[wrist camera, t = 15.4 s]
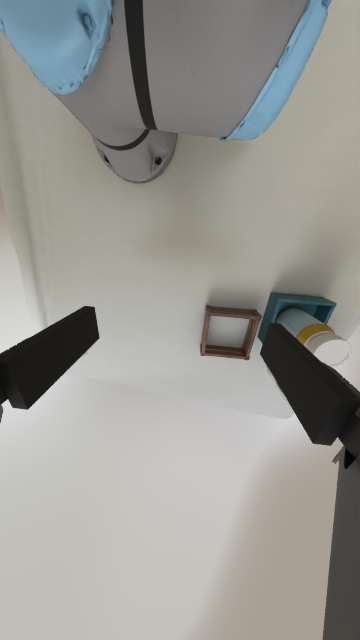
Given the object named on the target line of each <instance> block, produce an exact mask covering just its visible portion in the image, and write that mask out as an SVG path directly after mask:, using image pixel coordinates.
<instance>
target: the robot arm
mask: <svg viewBox="0 0 360 640" xmlns="http://www.w3.org/2000/svg"><path fill="white" fill-rule="evenodd" d="M331 1H332V0H0V30H1V31H2V33H3V35H4V36H5V38H6V39H7V41H8V42H9V43H10V45H11V46H12V47H13V49H14V50H15V51H16V52H17V53H18V55H19V56H20V57H21V58H22V59H23V60H24V62H25V63H26V64H27V65H28V66H29V68H30V69H31V71H32V72H33V74H34V76H35V77H36V78H37V80H38V81H39V82H40V83H41V84H42V85H43V86H44V87H46V88H47V89H48V90H50V91H51V92H52V93H53V94H54V95H55V96H56V97H57V98H58V99H59V100H60V101H61V102H62V103H63V104H64V105H65V107H66V108H67V109H68V110H69V111H70V112H71V113H72V114H73V115H74V116H75V117H76V118H77V119H78V120H79V121H80V122H81V123H82V124H83V125H84V126H85V127H86V128H87V130H88V131H89V132H90V133H91V135H92V137H93V140H94V143H95V145H96V147H97V150H98V152H99V154H100V156H101V157H102V159H103V160H104V162H105V163H106V164H107V165H108V167H109V168H110V169H111V170H112V171H113V172H115V173H116V174H117V175H118V176H119V177H121V178H123V179H124V180H126V181H129V182H132V183H146V182H149V181H152V180H154V179H155V178H157V177H158V176H159V175H160V174H162V172H163V171H164V170H165V169H166V168H167V166H168V164H169V163H170V161H171V159H172V156H173V153H174V150H175V146H176V140H177V133H182V134H190V135H199V136H207V137H216V138H220V140H221V141H227V140H230V139H239V140H251V139H254V138H256V137H258V136H259V135H260V134H261V133H263V132H264V131H266V130H267V128H268V127H269V126H270V125H271V124H272V122H273V121H274V120H275V118H276V117H277V116H278V114H279V113H280V111H281V109H282V108H283V106H284V104H285V103H286V101H287V99H288V98H289V96H290V94H291V92H292V90H293V89H294V87H295V85H296V83H297V81H298V79H299V77H300V75H301V73H302V71H303V69H304V67H305V65H306V63H307V61H308V59H309V57H310V55H311V53H312V51H313V48H314V46H315V44H316V42H317V40H318V37H319V35H320V33H321V30H322V28H323V26H324V23H325V21H326V18H327V15H328V12H327V9H328V6H329V5H330V3H331ZM98 339H99V332H98V326H97V319H96V313H95V307H90V306H84V307H82V308H81V309H79V310H77V311H75V312H74V313H72V314H70V315H68V316H67V317H65V318H63V319H61V320H60V321H58V322H56V323H54V324H53V325H51V326H49V327H47V328H46V329H44V330H42V331H41V332H39V333H37V334H35V335H34V336H32V337H30V338H28V339H25V340H23V341H22V342H20V343H18V344H17V345H15V346H13V347H11V348H10V349H9V350H6V351H4V352H2V353H1V354H0V422H1V418H2V413H3V407H2V406H1V404H2V403H3V402H5V401H6V400H7V399H8V400H9V402H10V404H11V406H12V407H13V408H20V409H27V410H28V409H29V408H30V407H31V406H32V405H33V404H34V403H35V402H36V401H37V400H38V399H39V398H40V397H41V396H42V395H43V394H44V393H45V392H46V391H47V390H48V389H49V388H50V387H51V386H52V385H53V384H54V383H55V382H56V381H57V380H58V379H59V378H60V377H61V376H62V375H63V374H64V373H65V372H66V371H67V370H68V369H69V368H70V367H71V366H72V365H73V364H74V363H75V362H76V361H77V360H78V359H79V358H80V357H81V356H82V355H83V354H84V353H85V352H86V351H87V350H88V349H89V348H90V347H91V346H92V345H93V344H94V343H95V342H96V341H97V340H98ZM260 355H261V356H262V358H263V360H264V362H265V363H266V365H267V367H268V368H269V370H270V372H271V373H272V375H273V377H274V378H275V380H276V382H277V384H278V385H279V387H280V389H281V390H282V392H283V394H284V395H285V397H286V399H287V400H288V402H289V404H290V406H291V407H292V409H293V411H294V412H295V414H296V416H297V417H298V419H299V421H300V422H301V424H302V426H303V428H304V429H305V431H306V432H307V434H308V436H309V438H310V439H311V441H312V443H313V444H321V445H330V446H331V445H332V444H333V442H334V441H335V440H336V438H337V437H338V438H339V439H340V441H341V442H342V443H343V445H344V446H343V447H342V449H341V450H340V451H339V453H338V454H337V455H336V456H335V458H334V459H333V461H332V462H334V463H336V462H337V461H339V471H338V481H337V493H336V503H335V514H334V523H333V534H332V545H331V556H330V566H329V577H328V588H327V598H326V609H325V620H324V631H323V640H360V392H359V391H358V390H357V389H356V388H355V387H354V386H353V385H351V384H349V382H348V381H347V380H346V379H345V378H343V377H342V376H341V375H340V374H339V373H338V372H337V371H336V370H335V369H333V368H332V367H330V366H329V365H327V364H325V363H324V362H321V361H320V360H319V359H318V358H317V357H316V356H315V355H314V354H313V353H311V352H310V351H309V350H308V349H307V348H306V347H305V346H304V345H303V344H302V343H301V342H300V341H299V340H298V339H297V338H295V337H294V336H293V335H292V334H291V333H290V332H289V331H288V330H287V329H286V328H285V327H284V326H283V325H282V324H280V323H270V324H269V327H268V330H267V333H266V336H265V339H264V342H263V346H262V349H261V352H260Z"/></svg>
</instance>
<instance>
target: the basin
mask: <svg viewBox="0 0 360 640" xmlns="http://www.w3.org/2000/svg"><path fill="white" fill-rule="evenodd" d="M336 304H337V303H335V302H332V301H330V300H327V299H325V298H323V297H311V296H299V295H287V294H275V293H271V294H270V297H269V300H268V304H267V307H266V311H265V314H264V317H263V321H262V324H261V327H260V331H259V334H258V338H259V339H260V341H261V342H262V344H263V342H264V339H265V336H266V333H267V330H268V327H269V324H270V323H276V319H277V316H278V315H279V314H280V313H281V312H282V311H284V310H285V309H288V308H299V309H301V310H303V311H305V312H306V313H308V314H309V315H311V316H313V317H314V318H316V319H317V320H319V321H321V322H322V323H324V324H325V325H327V322H328V320H329V318H330V316H331V314H332V312H333V310H334V308H335V306H336Z"/></svg>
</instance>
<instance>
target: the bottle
mask: <svg viewBox="0 0 360 640" xmlns="http://www.w3.org/2000/svg"><path fill="white" fill-rule="evenodd" d="M276 323H280V324H282V325H283V326H284V327H285V328H286V329H287V330H288V331H289V332H290V333H291V334H292V335H293V336H294V337H295V338H297V339H298V340H299V341H300V342H301V343H302V344H303V345H304V346H305V347H306V348H307V349H308V350H309V351H310V352H311V353H313V354H314V355H315V356H316V357H317V358H318V359H319V360H320V361H321V362H324V363H325V364H327V365H329V366H330V367H336V366H339V365H340V364H342V363H344V362H345V361H346V360H347V359H348V358H349V357H350V355H351V353H352V348H351V345H350V344H349V343H348V342H347V341H346V340H344V339H343V338H341V337H340V336H338V335H336V334H335V333H334V331H333V330H332V329H331V328H330V327H328V326H327V325H325V324H324V323H322V322H321V321H319V320H317V319H316V318H314V317H313V316H311V315H309V314H308V313H306V312H305V311H303V310H301V309H299V308H288V309H285V310H284V311H282V312H281V313H280V314H279V315H278V316H277V319H276Z"/></svg>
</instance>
